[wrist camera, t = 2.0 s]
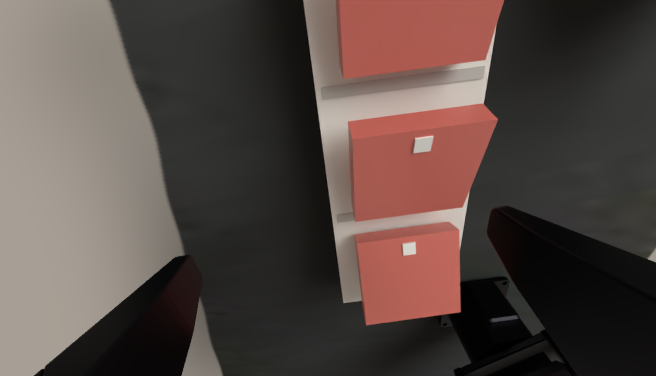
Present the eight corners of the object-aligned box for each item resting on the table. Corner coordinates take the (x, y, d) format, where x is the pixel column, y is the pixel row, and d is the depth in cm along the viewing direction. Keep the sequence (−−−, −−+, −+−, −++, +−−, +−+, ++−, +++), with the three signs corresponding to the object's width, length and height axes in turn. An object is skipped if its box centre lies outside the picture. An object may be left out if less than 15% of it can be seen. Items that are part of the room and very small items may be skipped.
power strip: (431, 274, 28) (450, 311, 24) (341, 287, 28) (346, 325, 24) (472, -127, 14) (531, -181, 10) (289, -103, 14) (283, -148, 10)
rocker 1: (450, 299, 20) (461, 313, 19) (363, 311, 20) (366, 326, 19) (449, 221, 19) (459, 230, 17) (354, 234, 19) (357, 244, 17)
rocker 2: (453, 190, 18) (463, 208, 16) (351, 204, 17) (355, 223, 16) (482, 103, 13) (499, 120, 12) (347, 121, 13) (352, 140, 12)
